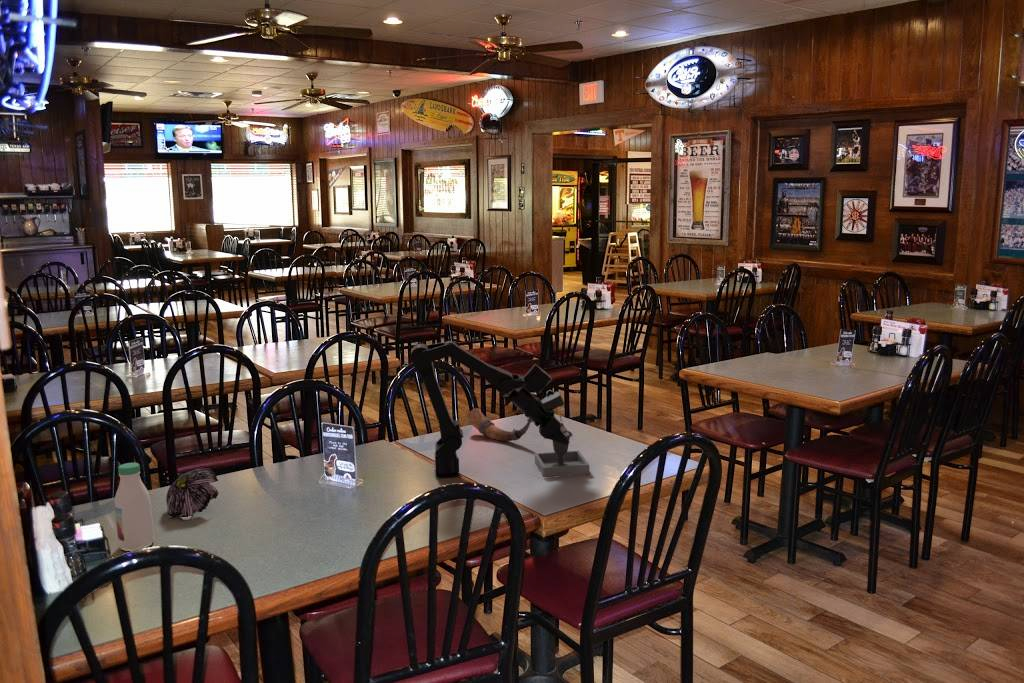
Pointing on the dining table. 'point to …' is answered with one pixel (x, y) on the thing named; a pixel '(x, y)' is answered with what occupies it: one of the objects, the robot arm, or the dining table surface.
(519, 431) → the drinking horn
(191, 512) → the decorative flower
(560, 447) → the sundae
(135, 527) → the milk bottle
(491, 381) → the robot arm
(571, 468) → the tray
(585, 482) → the dining table surface
